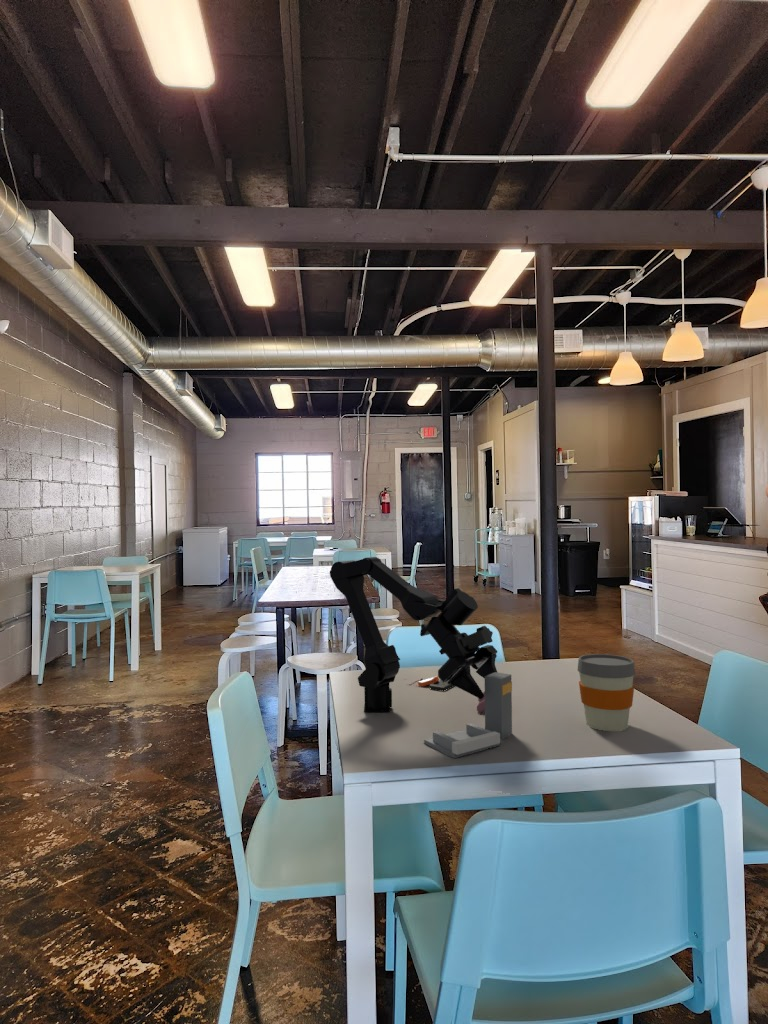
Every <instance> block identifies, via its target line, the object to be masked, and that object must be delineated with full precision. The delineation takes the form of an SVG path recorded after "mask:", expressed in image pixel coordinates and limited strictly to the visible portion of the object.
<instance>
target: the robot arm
mask: <svg viewBox="0 0 768 1024" xmlns="http://www.w3.org/2000/svg"><path fill="white" fill-rule="evenodd" d="M366 575H368V576H369V577H370V578H372V579H373V580H374V581H375V582H377V583H378V584H379V585H380V586H381V587H383V588H384V589H385V590H386V591H388V593H390V594H391V595H392V596H394V597H395V598H397V600H398V601H399V602H400V603H401V606H402V609H403V610H404V611H405V612H406V613H407V615H408V616H409V617H410V618H411V619H412V620H414V621H423V620H427V619H430V620H429V621H428V622H427V623H422V624H421V625H420V634H419V635H420V637H424V636H428V635H430V636H431V638H432V639H433V640H434V642H436V644H437V645H438V647H440V649H439V653H440V655H446V656H447V658H448V659H447V660H446V661H445V662H444V664H443V665H442V666H441V667H440V668H439V669H438V670H437V676H438V678H439V680H441V681H442V682H443V683H445V682H447V681H448V684H451V685H453V686H454V687H456V688H458V689H460V690H463V691H464V692H466V693H468V694H470V695H472V696H474V697H475V698H477V699H478V698H479V699H482V698H483V697H484V694H483V692H484V691H483V690H482V689H481V688H480V686H479V685H478V683H477V682H476V680H475V679H474V677H473V676H472V674H471V668H472V669H474V670H476V671H475V673H476V674H477V675H478V676H480V677H481V678H483V679H484V680H485V676H487V675H489V674H492V673H494V672H498V669H497V666H496V658H497V657H498V655H497V654H498V652H499V651H498V650H497V649H496V648H495V646H493V645H491V644H490V643H492V642H493V639H492V637H493V633H494V632H493V631H492V630H490V628H489V627H487V626H486V625H482V626H480V627H478V628H476V632H473V633H471V634H468V633H466V632H460V630H458V629H457V627H456V625H457V626H463V625H464V624H465V622H466V621H467V620H468V619H470V617H471V616H472V615H473V614H474V612H475V611H477V609H478V607H479V605H478V603H477V601H476V599H474V597H472V596H471V595H469V593H466V592H465V591H462V590H461V589H460V588H458V587H457V588H454V589H453V590H451V592H450V593H449V595H448V596H447V597H446V599H445V600H441V599H438V598H437V596H436V595H434V594H433V593H430V592H429V591H427V590H424V589H423V588H422V589H421V588H419V587H416V586H413V585H411V584H410V582H408V581H407V580H405V579H404V578H403V577H401V576H400V575H399V574H398V573H396V572H395V571H394V570H392V568H390V567H389V566H387V564H385V563H384V562H382V560H381V559H380V558H379V557H377V556H369V557H364V558H362V559H359V560H341V561H340V560H339V561H335V562H334V563H333V564H332V565H331V567H330V570H329V576H330V578H331V581H332V582H333V584H334V586H335V588H336V589H337V590H338V591H339V592H340V593H341V594H342V595H343V596H344V597H345V599H346V602H347V604H348V606H349V609H350V612H351V615H352V617H353V619H354V623H355V625H356V628H357V630H358V633H359V636H360V639H361V641H362V644H363V646H364V658H363V659H364V660H363V662H364V666H365V669H363V671H362V673H361V674H360V675H359V676H358V677H357V682H358V685H359V686H360V687H363V688H364V691H363V692H364V706H363V712H364V713H378V712H379V713H381V712H382V713H383V712H384V713H385V712H386V713H387V712H388V713H389V712H391V708H392V707H393V698H392V697H393V696H392V695H393V694H392V693H393V690H392V688H390V683H394V682H395V679H396V676H397V674H399V670H400V668H401V667H400V665H401V663H400V661H401V658H400V657H399V656H398V653H397V651H396V647H395V645H394V644H391V645H388V644H387V643H386V642H385V641H384V640H383V637H382V634H381V632H380V629H379V626H378V625H377V621H376V620H375V617H374V614H373V612H372V609H371V606H370V604H369V602H368V599H367V596H366V594H365V592H364V591H365V590H364V585H365V576H366ZM437 615H438V616H437ZM486 644H487V645H486Z"/></svg>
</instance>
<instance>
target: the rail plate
mask: <svg viewBox="0 0 768 1024" xmlns="http://www.w3.org/2000/svg"><path fill="white" fill-rule="evenodd" d="M465 725H466V726H465V727H466V729H462V730H459V731H454V732H450V733H447V734H444V733H443V732H441V731H439V730H436V731H432V737H429V738H426V739H424V740H423V744H424V745H426V746H428V747H430V748H433V749H435V750H437V751H439V752H441V753H443V754H445V755H447V756H449V757H451V758H453V759H456V758H459V757H463V755H464V756H467V754H468V755H471V754H474V752H475V753H478V752H477V751H479V752H482V751H485V749H486V750H489V749H488V748H490V749H492V747H493V748H497V747H499V746H500V744H501V740H500V733H498V732H495V731H494V732H492V731H489V730H487V729H485V727H481V726H479V725H477V724H474V723H471V722H470V723H466V724H465ZM496 746H497V747H496ZM481 750H482V751H481ZM470 753H471V754H470Z"/></svg>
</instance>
